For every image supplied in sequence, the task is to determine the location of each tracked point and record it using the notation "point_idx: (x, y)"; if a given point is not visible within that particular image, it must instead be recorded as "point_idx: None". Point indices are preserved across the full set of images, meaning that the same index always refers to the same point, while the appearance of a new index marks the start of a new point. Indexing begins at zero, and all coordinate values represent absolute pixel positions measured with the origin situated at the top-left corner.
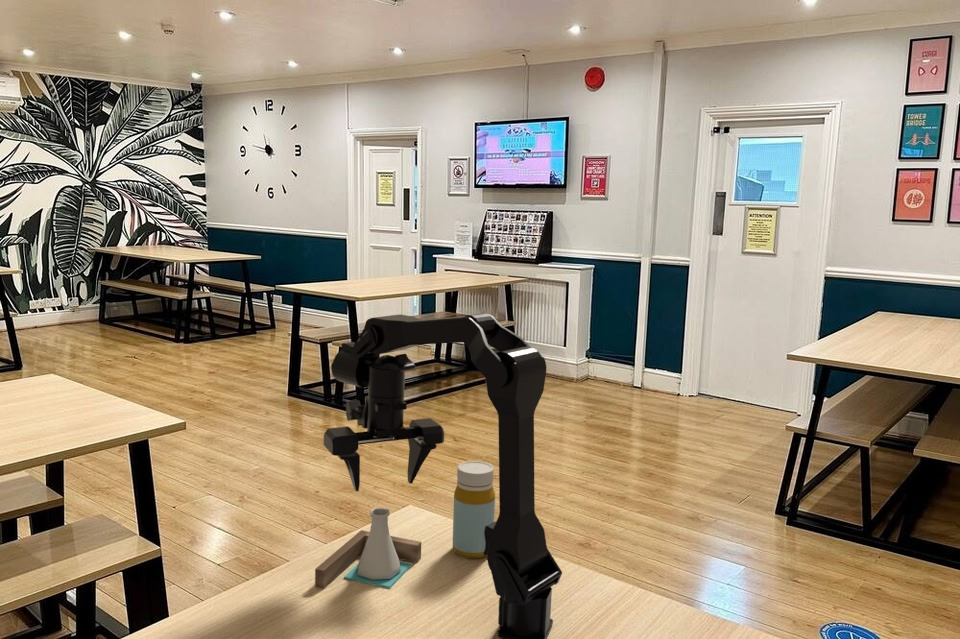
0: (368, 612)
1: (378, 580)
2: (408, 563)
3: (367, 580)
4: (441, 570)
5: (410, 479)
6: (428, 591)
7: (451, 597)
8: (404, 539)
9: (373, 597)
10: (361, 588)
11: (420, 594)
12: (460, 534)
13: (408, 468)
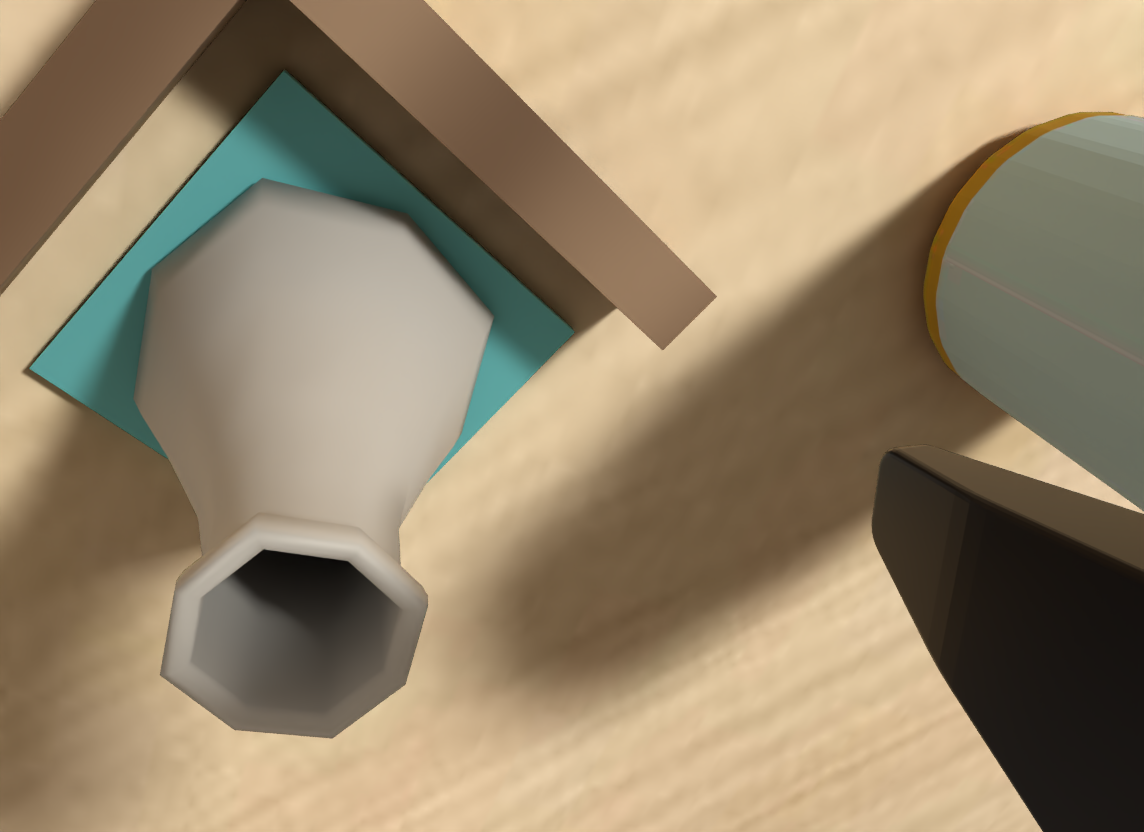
0: (154, 754)
1: None
2: (555, 322)
3: None
4: (726, 443)
5: (907, 592)
6: (551, 638)
7: (641, 712)
8: (604, 208)
9: None
10: (150, 517)
11: (496, 655)
12: (1013, 391)
13: (1035, 568)
